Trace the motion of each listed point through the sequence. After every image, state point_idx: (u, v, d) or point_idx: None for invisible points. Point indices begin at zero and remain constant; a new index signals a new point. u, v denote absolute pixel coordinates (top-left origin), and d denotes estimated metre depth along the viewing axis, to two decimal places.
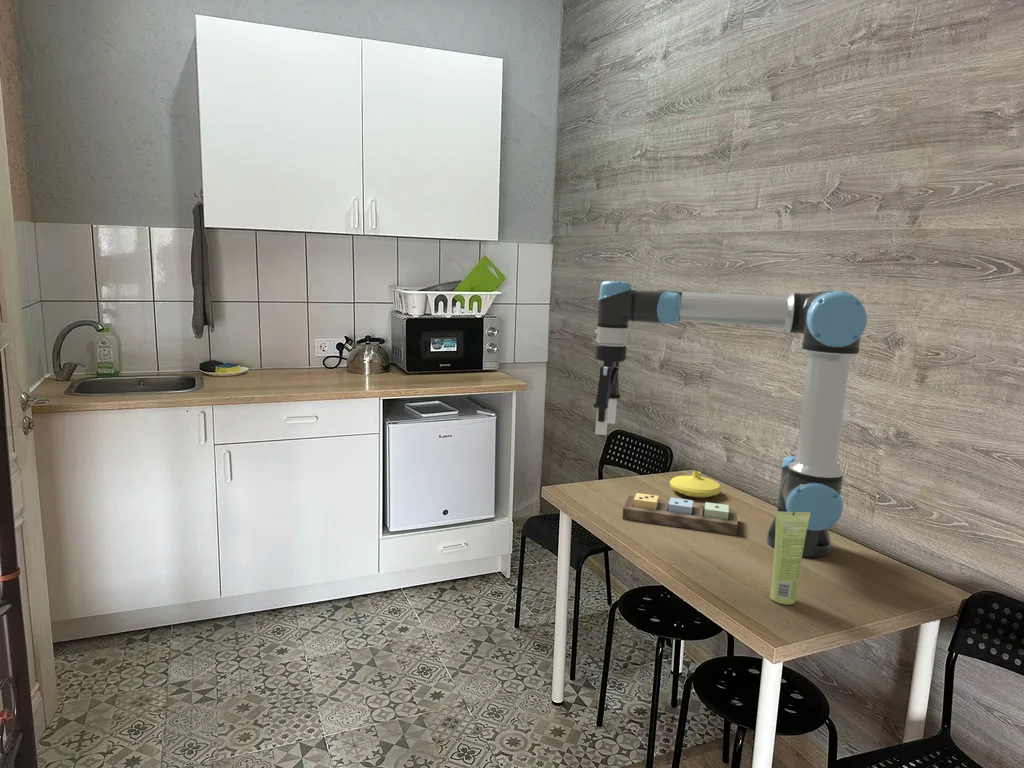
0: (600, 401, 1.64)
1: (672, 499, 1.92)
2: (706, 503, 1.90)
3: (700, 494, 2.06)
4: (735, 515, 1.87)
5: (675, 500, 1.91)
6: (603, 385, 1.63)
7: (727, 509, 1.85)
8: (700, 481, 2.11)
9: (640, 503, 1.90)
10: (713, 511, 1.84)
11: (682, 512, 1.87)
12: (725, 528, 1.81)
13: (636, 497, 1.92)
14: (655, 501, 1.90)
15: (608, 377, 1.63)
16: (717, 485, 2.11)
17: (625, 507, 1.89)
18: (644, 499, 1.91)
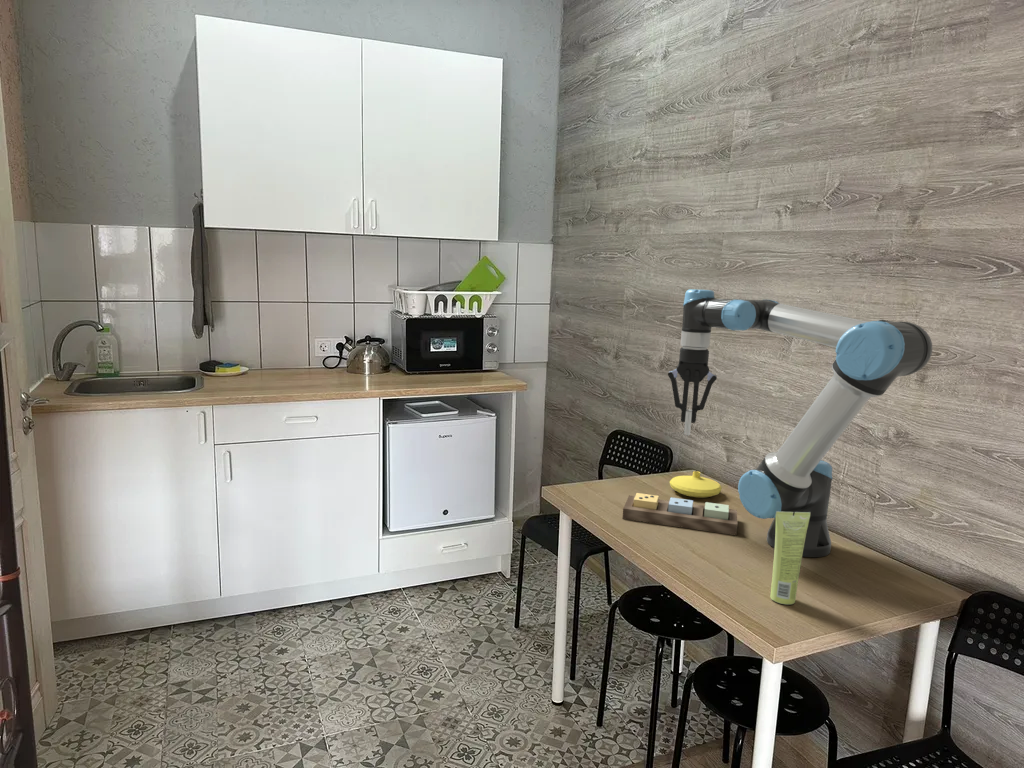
0: None
1: (672, 499, 1.92)
2: (706, 503, 1.90)
3: (700, 494, 2.06)
4: (735, 515, 1.87)
5: (675, 500, 1.91)
6: None
7: (727, 509, 1.85)
8: (700, 481, 2.11)
9: (640, 503, 1.90)
10: (713, 511, 1.84)
11: (682, 512, 1.87)
12: (725, 528, 1.81)
13: (636, 497, 1.92)
14: (655, 501, 1.90)
15: (671, 381, 1.85)
16: (717, 485, 2.11)
17: (625, 507, 1.89)
18: (644, 499, 1.91)
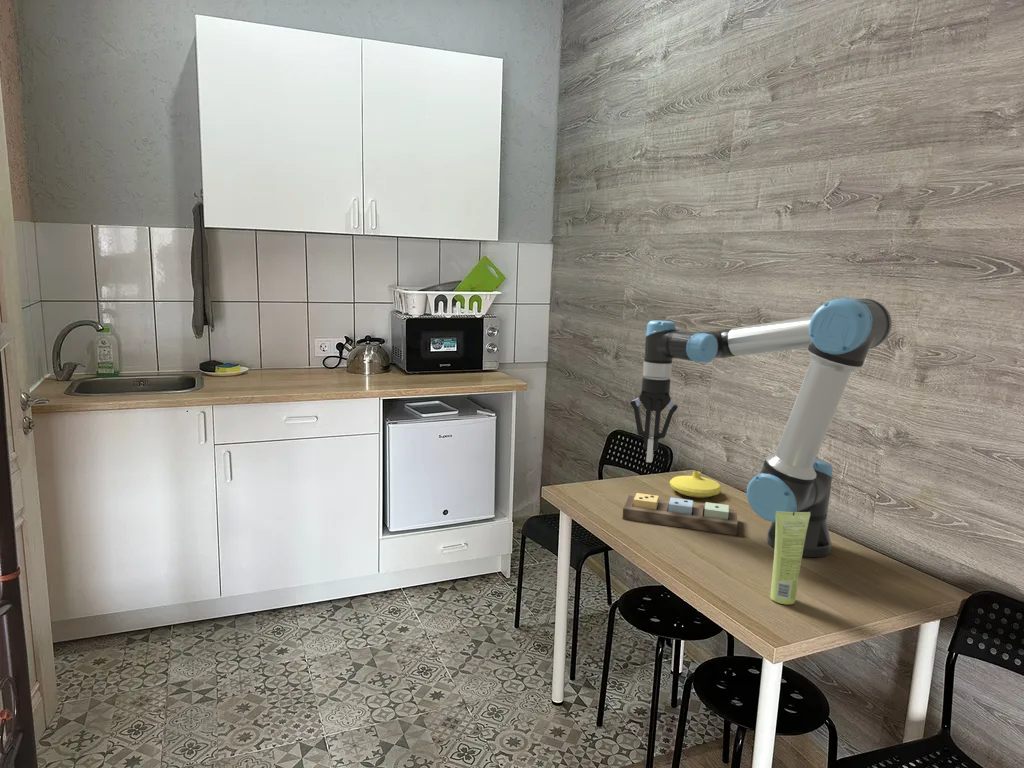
0: None
1: (672, 499, 1.92)
2: (706, 503, 1.90)
3: (700, 494, 2.06)
4: (735, 515, 1.87)
5: (675, 500, 1.91)
6: None
7: (727, 509, 1.85)
8: (700, 481, 2.11)
9: (640, 503, 1.90)
10: (713, 511, 1.84)
11: (682, 512, 1.87)
12: (725, 528, 1.81)
13: (636, 497, 1.92)
14: (655, 501, 1.90)
15: None
16: (717, 485, 2.11)
17: (625, 507, 1.89)
18: (644, 499, 1.91)
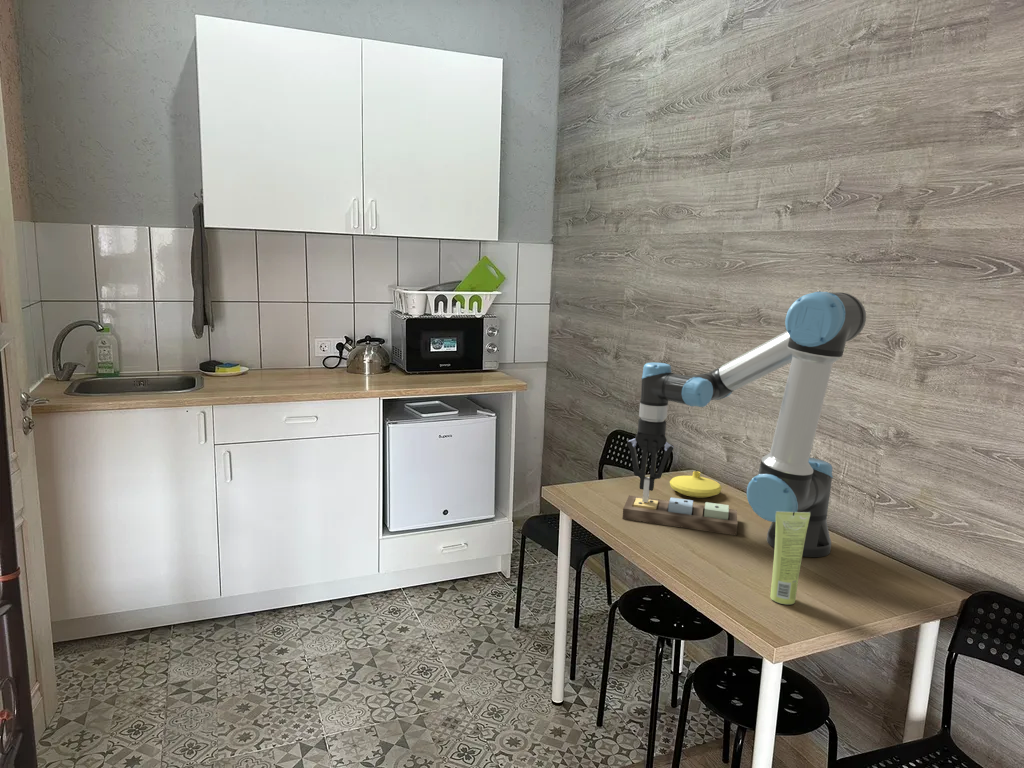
0: None
1: (672, 499, 1.92)
2: (706, 503, 1.90)
3: (700, 494, 2.06)
4: (735, 515, 1.87)
5: (675, 500, 1.91)
6: None
7: (727, 509, 1.85)
8: (700, 481, 2.11)
9: None
10: (713, 511, 1.84)
11: (682, 512, 1.87)
12: (725, 528, 1.81)
13: (636, 502, 1.92)
14: (655, 506, 1.90)
15: None
16: (717, 485, 2.11)
17: (625, 507, 1.89)
18: (644, 504, 1.91)
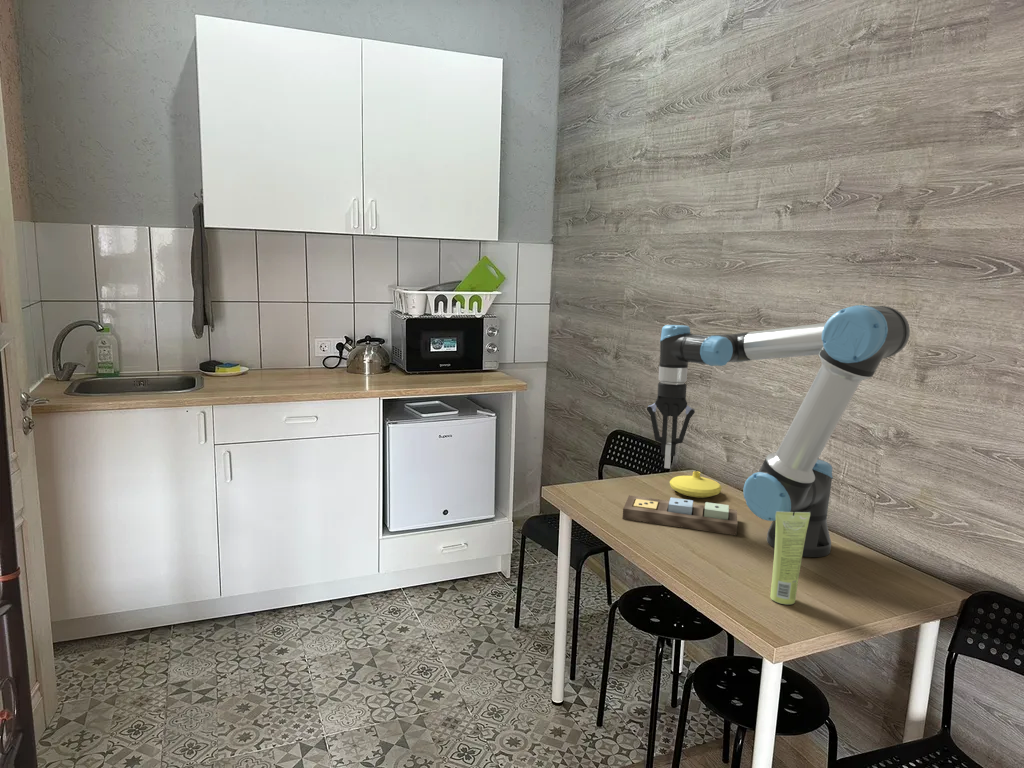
0: None
1: (672, 499, 1.92)
2: (706, 503, 1.90)
3: (700, 494, 2.06)
4: (735, 515, 1.87)
5: (675, 500, 1.91)
6: None
7: (727, 509, 1.85)
8: (700, 481, 2.11)
9: None
10: (713, 511, 1.84)
11: (682, 512, 1.87)
12: (725, 528, 1.81)
13: (636, 503, 1.92)
14: (654, 507, 1.90)
15: (650, 415, 1.87)
16: (717, 485, 2.11)
17: (625, 507, 1.89)
18: (644, 505, 1.91)
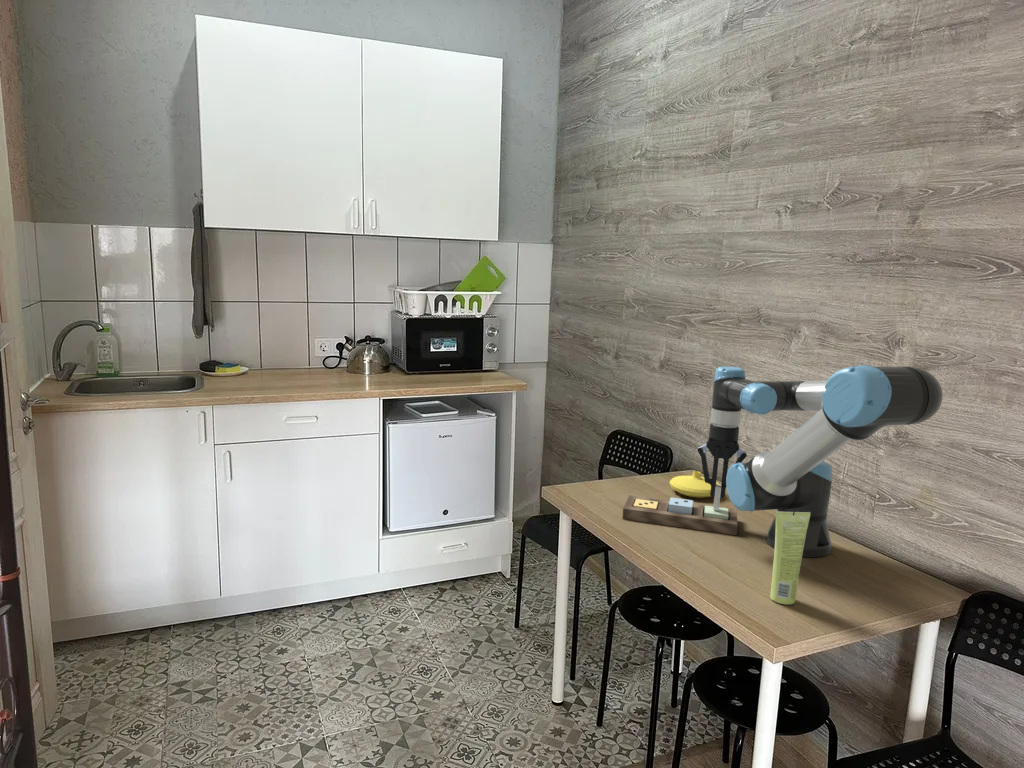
0: (712, 478, 1.87)
1: (672, 499, 1.92)
2: (706, 506, 1.90)
3: (700, 494, 2.06)
4: (735, 515, 1.87)
5: (675, 500, 1.91)
6: None
7: (727, 513, 1.85)
8: (700, 481, 2.11)
9: None
10: (713, 514, 1.85)
11: (682, 512, 1.87)
12: (725, 528, 1.81)
13: (636, 503, 1.92)
14: (654, 507, 1.90)
15: (701, 457, 1.86)
16: None
17: (625, 507, 1.89)
18: (644, 505, 1.91)
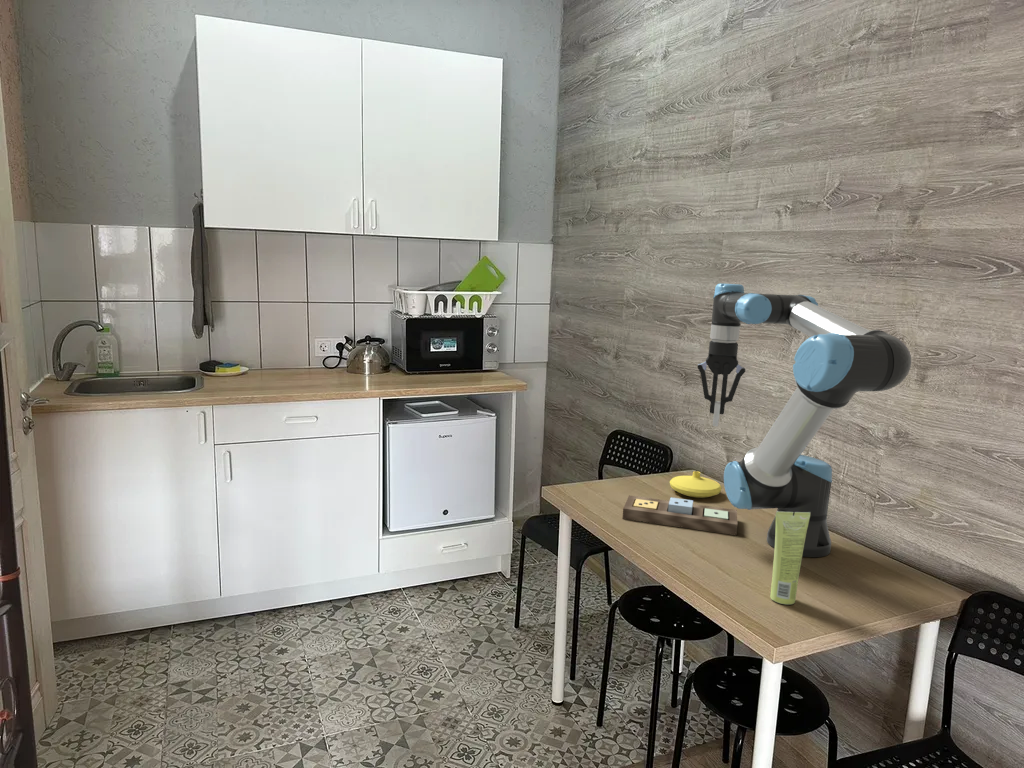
0: None
1: (672, 499, 1.92)
2: (705, 509, 1.90)
3: (700, 494, 2.06)
4: (735, 515, 1.87)
5: (675, 500, 1.91)
6: None
7: (727, 516, 1.86)
8: (700, 481, 2.11)
9: None
10: (712, 517, 1.85)
11: (682, 512, 1.87)
12: (725, 528, 1.81)
13: (636, 503, 1.92)
14: (654, 507, 1.90)
15: None
16: (717, 485, 2.11)
17: (625, 507, 1.89)
18: (644, 505, 1.91)
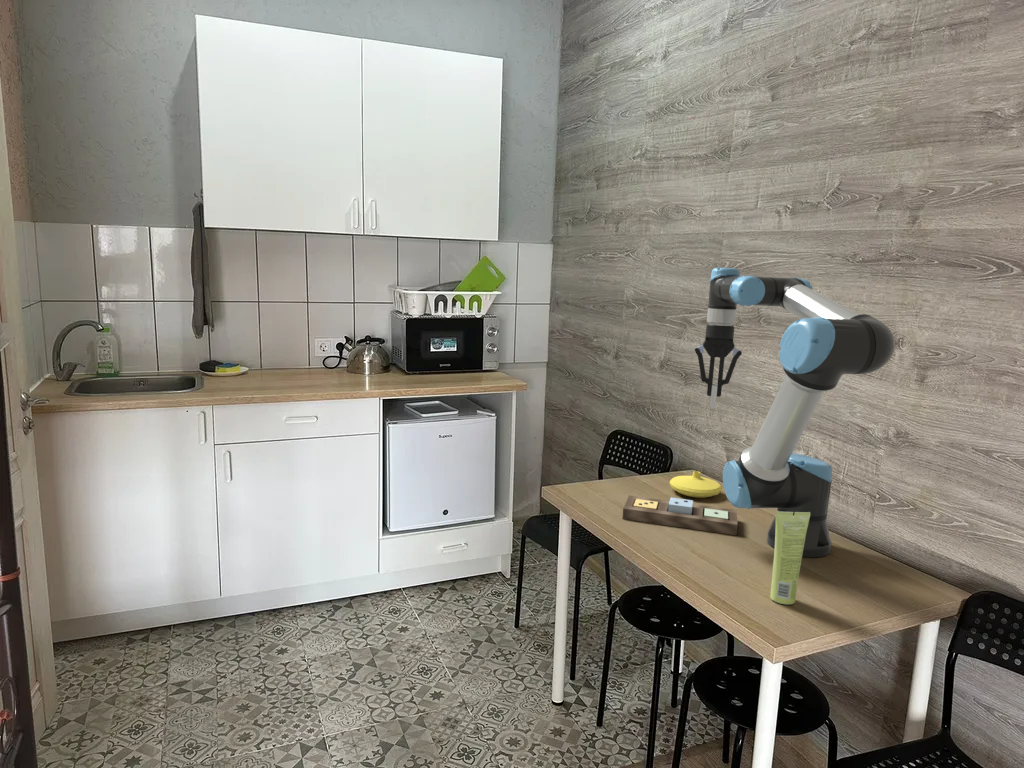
0: None
1: (672, 499, 1.92)
2: (705, 509, 1.90)
3: (700, 494, 2.06)
4: (735, 515, 1.87)
5: (675, 500, 1.91)
6: None
7: (727, 516, 1.86)
8: (700, 481, 2.11)
9: None
10: (712, 517, 1.85)
11: (682, 512, 1.87)
12: (725, 528, 1.81)
13: (636, 503, 1.92)
14: (654, 507, 1.90)
15: None
16: (717, 485, 2.11)
17: (625, 507, 1.89)
18: (644, 505, 1.91)
